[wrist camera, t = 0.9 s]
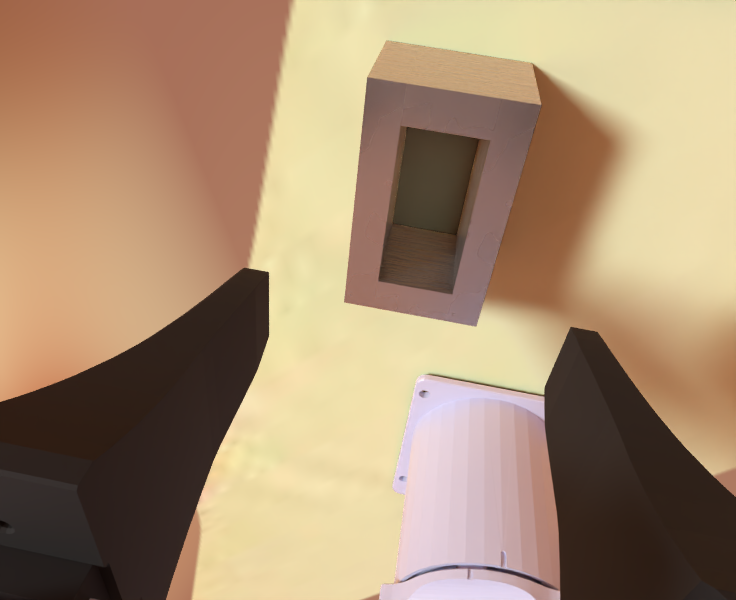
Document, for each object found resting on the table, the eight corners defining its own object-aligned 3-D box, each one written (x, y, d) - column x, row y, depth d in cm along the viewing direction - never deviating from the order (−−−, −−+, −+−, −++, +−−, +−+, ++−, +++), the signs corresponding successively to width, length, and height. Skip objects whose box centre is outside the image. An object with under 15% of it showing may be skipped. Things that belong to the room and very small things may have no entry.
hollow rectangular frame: (477, 264, 24) (476, 326, 21) (362, 243, 24) (344, 302, 21) (532, 63, 19) (541, 105, 16) (386, 40, 19) (367, 77, 16)
